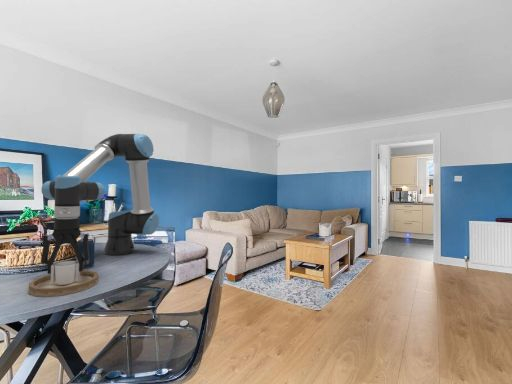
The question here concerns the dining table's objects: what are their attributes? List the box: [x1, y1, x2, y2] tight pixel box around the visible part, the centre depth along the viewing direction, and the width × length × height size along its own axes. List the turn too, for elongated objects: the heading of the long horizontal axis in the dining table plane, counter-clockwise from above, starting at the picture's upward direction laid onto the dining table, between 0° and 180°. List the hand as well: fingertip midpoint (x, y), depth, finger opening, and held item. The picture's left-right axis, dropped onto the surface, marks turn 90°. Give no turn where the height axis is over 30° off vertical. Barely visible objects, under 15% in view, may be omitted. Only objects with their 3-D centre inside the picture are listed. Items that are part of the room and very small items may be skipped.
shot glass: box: [54, 260, 77, 285], centre depth 95 cm, size 7×7×7 cm
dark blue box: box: [75, 238, 96, 269], centre depth 117 cm, size 7×7×12 cm
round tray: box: [28, 269, 100, 298], centre depth 95 cm, size 20×20×2 cm
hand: (65, 281), depth 95 cm, fingers closed on shot glass, 7 cm apart
